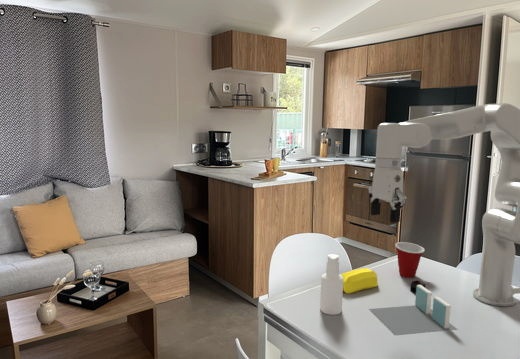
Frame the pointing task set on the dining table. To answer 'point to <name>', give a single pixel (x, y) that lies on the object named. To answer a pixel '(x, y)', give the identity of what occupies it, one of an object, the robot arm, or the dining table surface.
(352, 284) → the yellow faceted bar
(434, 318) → the tile
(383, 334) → the dining table surface
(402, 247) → the plastic cup
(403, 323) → the mat
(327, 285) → the spray bottle
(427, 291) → the tile
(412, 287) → the black slotted bracket
